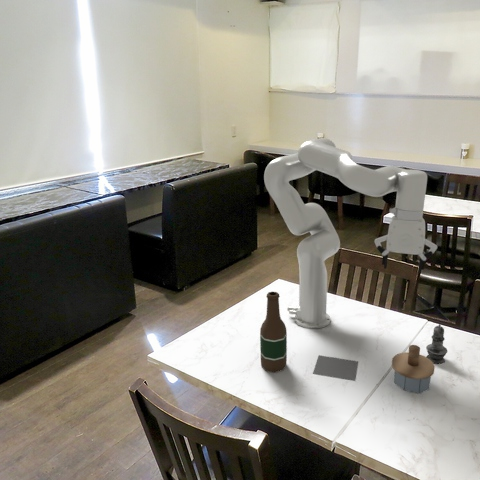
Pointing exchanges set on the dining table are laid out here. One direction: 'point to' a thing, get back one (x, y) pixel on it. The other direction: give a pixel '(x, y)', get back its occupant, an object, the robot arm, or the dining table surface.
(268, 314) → the beer bottle
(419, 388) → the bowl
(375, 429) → the dining table surface
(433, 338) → the ornate incense burner
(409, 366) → the lid
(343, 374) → the mat
